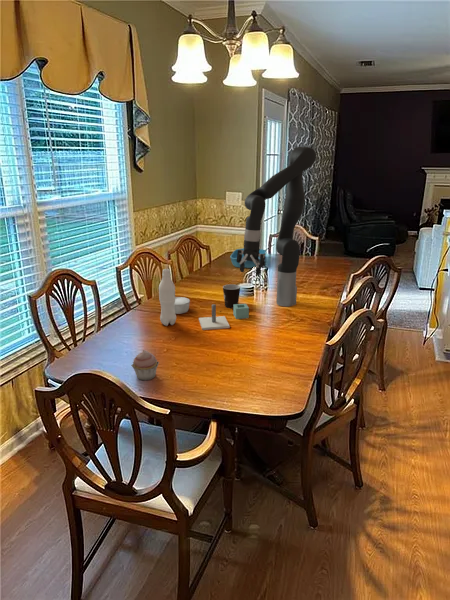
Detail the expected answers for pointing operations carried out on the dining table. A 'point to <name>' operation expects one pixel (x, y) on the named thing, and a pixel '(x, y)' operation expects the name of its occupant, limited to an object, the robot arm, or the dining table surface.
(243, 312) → the collar
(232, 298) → the coffee mug
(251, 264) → the casserole dish
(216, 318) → the post stand
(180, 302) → the ramekin
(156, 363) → the cupcake
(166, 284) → the water bottle
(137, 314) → the dining table surface
